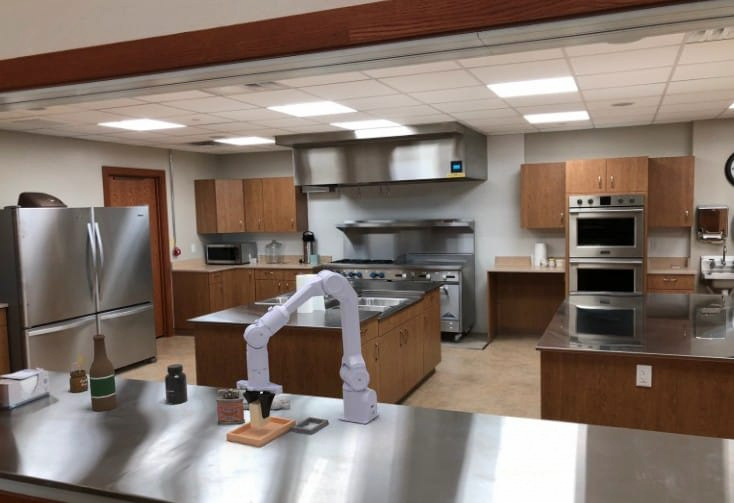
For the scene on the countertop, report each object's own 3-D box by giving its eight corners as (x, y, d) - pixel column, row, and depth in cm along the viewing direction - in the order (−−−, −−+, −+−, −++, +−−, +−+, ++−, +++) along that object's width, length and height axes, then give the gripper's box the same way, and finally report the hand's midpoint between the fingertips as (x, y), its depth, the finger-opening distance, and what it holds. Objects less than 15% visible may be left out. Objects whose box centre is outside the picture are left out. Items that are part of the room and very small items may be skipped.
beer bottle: (121, 407, 192) (115, 334, 190) (96, 413, 187) (90, 338, 185) (112, 402, 198) (106, 331, 196) (88, 408, 192) (81, 335, 190)
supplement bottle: (165, 405, 191) (162, 369, 190) (167, 399, 198) (164, 364, 197) (187, 403, 193) (184, 367, 192) (188, 396, 199) (186, 362, 199)
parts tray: (295, 426, 167) (295, 420, 167) (260, 447, 154) (259, 440, 154) (263, 421, 173) (263, 414, 173) (226, 440, 160) (226, 433, 160)
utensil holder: (67, 393, 209) (64, 360, 208) (74, 388, 216) (71, 356, 215) (84, 392, 210) (81, 359, 209) (91, 387, 216) (88, 355, 215)
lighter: (246, 420, 174) (244, 387, 174) (242, 425, 171) (240, 391, 170) (220, 420, 175) (217, 387, 174) (216, 425, 172) (213, 391, 171)
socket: (328, 424, 169) (328, 419, 168) (311, 434, 161) (311, 430, 161) (309, 420, 172) (309, 416, 172) (291, 431, 164) (291, 427, 164)
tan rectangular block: (270, 422, 165) (269, 399, 164) (259, 428, 160) (257, 405, 160) (262, 420, 166) (261, 398, 166) (250, 426, 162) (249, 403, 161)
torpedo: (231, 411, 183) (230, 391, 183) (237, 406, 188) (236, 386, 187) (288, 412, 181) (286, 391, 180) (292, 406, 185) (291, 386, 185)
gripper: (228, 369, 162) (231, 417, 163) (269, 374, 155) (272, 425, 156) (245, 363, 168) (248, 409, 169) (286, 367, 161) (288, 416, 162)
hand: (260, 416), depth 163 cm, fingers closed on tan rectangular block, 3 cm apart
